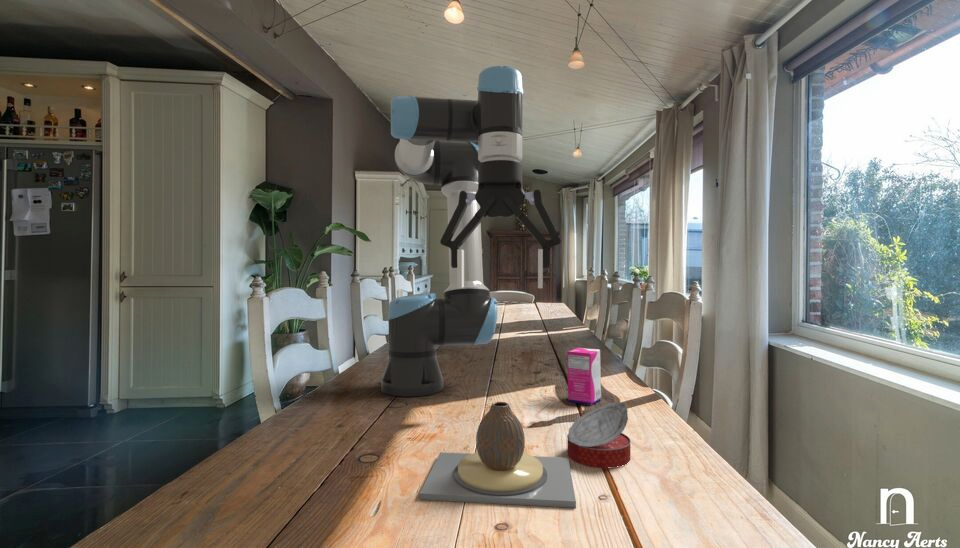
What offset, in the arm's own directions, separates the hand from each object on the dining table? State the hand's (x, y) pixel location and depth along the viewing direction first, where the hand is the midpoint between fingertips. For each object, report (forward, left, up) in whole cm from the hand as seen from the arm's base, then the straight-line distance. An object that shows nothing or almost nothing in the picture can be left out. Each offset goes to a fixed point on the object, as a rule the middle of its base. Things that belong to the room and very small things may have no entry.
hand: (500, 287), depth 83 cm
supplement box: (-28, +17, -27) cm, 42 cm away
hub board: (+14, +1, -27) cm, 30 cm away
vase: (+14, +1, -25) cm, 29 cm away
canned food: (+4, +16, -27) cm, 32 cm away
